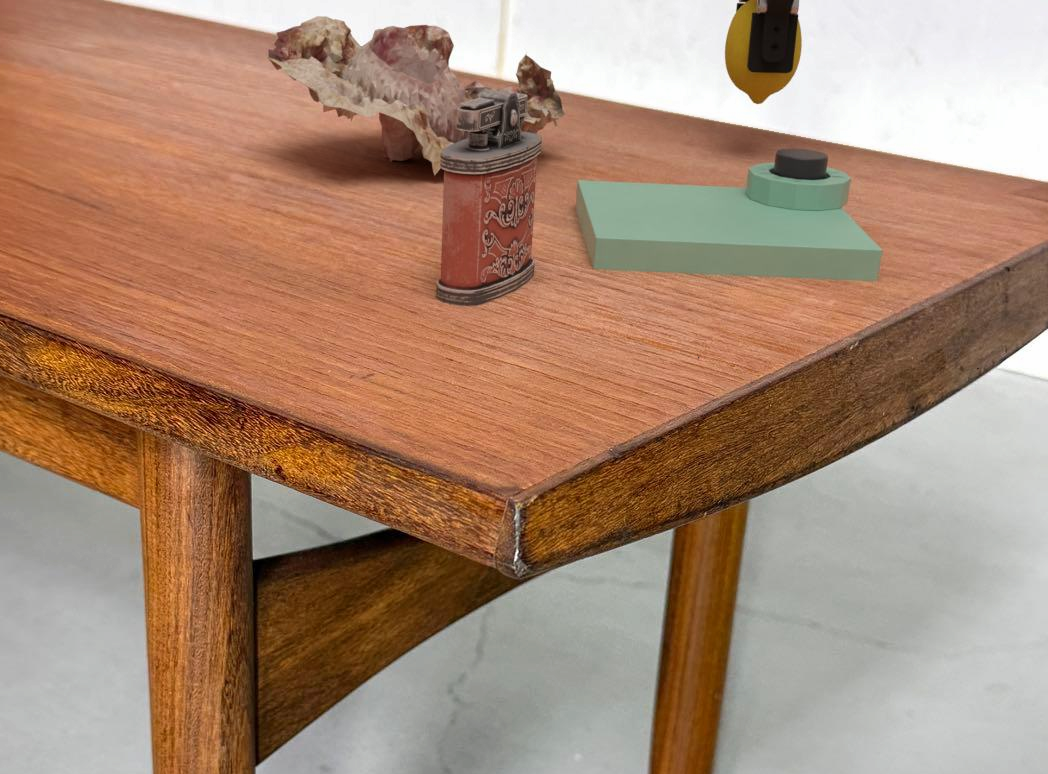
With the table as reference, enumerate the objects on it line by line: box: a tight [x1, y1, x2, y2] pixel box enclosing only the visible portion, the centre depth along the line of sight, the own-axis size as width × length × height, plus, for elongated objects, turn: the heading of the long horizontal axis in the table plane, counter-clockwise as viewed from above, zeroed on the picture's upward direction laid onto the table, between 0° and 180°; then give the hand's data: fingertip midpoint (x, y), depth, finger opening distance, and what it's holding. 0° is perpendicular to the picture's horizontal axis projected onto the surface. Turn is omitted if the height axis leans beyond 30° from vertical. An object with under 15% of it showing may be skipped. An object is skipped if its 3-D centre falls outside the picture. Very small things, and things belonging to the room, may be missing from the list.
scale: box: [575, 161, 883, 282], centre depth 89 cm, size 17×15×4 cm
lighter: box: [435, 89, 543, 307], centre depth 76 cm, size 8×3×10 cm, turn 154°
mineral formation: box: [266, 15, 566, 176], centre depth 104 cm, size 23×16×10 cm
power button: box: [773, 147, 829, 180], centre depth 92 cm, size 3×3×2 cm
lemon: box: [724, 0, 803, 105], centre depth 109 cm, size 6×6×8 cm
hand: (761, 63), depth 109 cm, fingers closed on lemon, 5 cm apart
